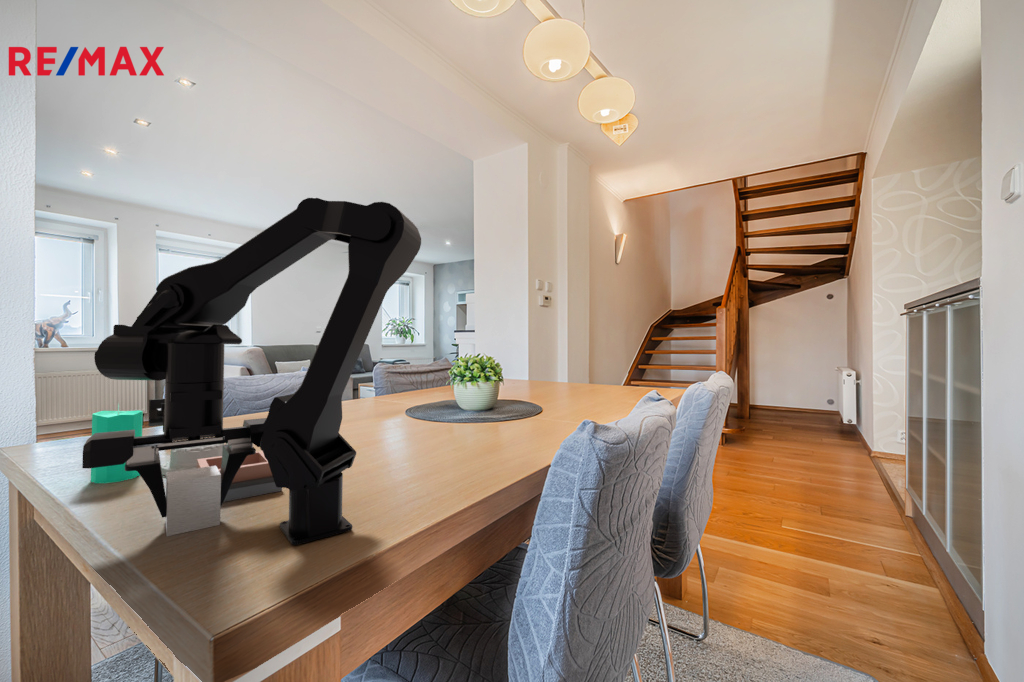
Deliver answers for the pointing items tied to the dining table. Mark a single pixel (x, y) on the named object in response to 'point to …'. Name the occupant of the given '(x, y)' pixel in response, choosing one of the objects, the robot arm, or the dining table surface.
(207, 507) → the block
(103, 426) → the candle
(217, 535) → the dining table surface
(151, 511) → the dining table surface
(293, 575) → the dining table surface
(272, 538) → the dining table surface
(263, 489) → the frame
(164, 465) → the mechanical component
